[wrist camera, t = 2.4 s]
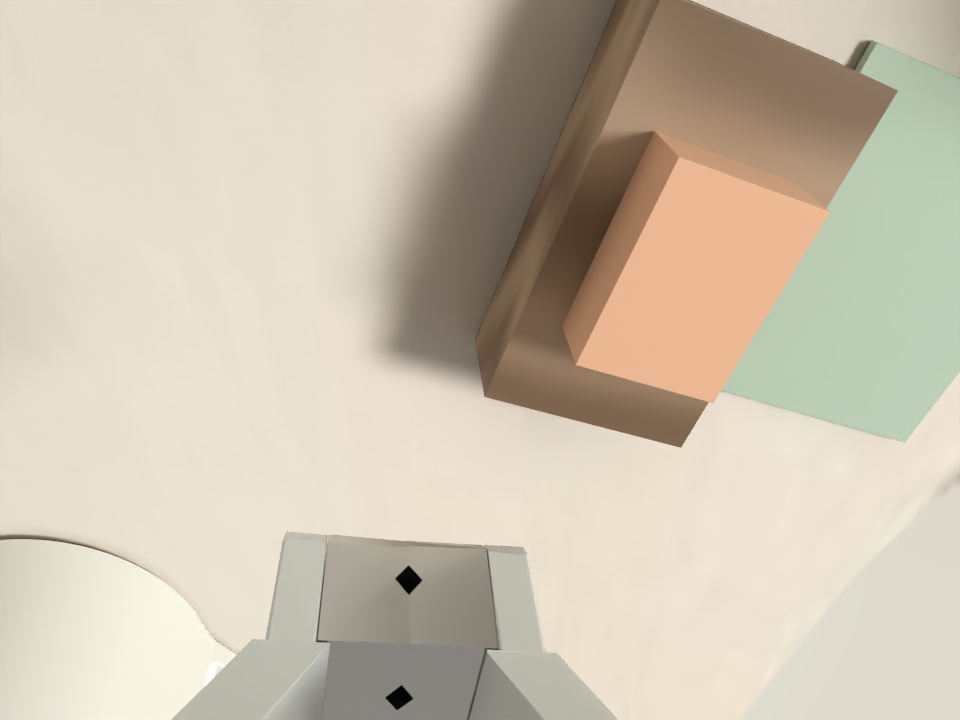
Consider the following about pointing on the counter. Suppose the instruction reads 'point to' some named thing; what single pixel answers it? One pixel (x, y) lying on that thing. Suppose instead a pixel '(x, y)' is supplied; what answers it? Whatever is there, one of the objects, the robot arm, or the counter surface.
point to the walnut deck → (613, 161)
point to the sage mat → (875, 273)
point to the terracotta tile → (689, 269)
